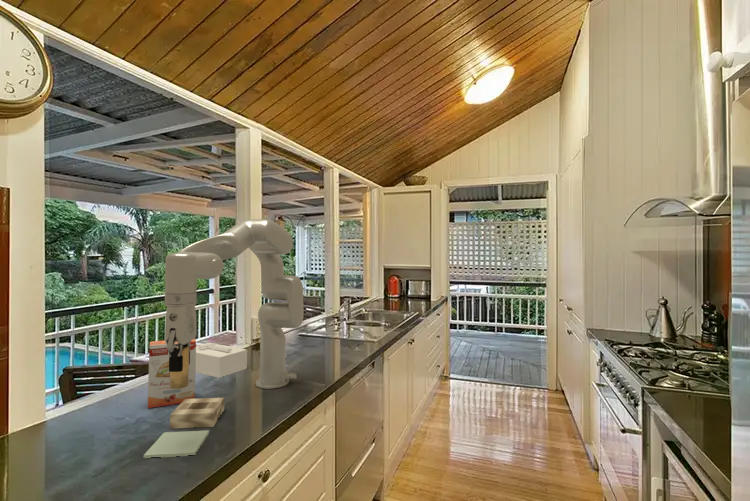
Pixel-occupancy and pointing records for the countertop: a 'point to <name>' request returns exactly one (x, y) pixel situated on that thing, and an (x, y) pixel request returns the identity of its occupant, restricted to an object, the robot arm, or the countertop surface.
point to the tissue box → (219, 359)
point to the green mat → (177, 444)
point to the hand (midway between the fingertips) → (179, 367)
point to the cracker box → (167, 376)
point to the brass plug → (181, 378)
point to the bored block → (197, 413)
